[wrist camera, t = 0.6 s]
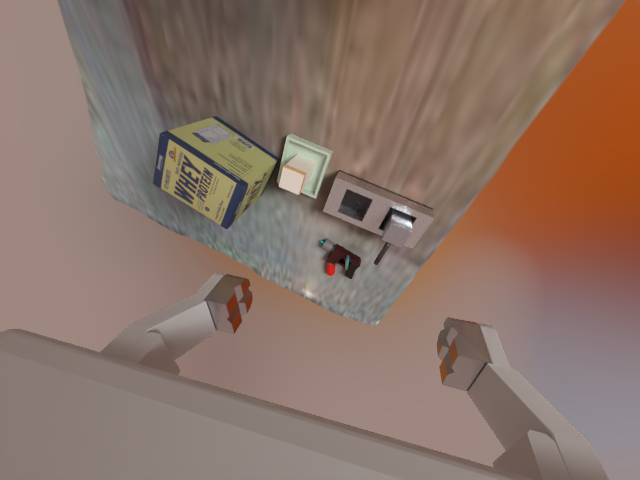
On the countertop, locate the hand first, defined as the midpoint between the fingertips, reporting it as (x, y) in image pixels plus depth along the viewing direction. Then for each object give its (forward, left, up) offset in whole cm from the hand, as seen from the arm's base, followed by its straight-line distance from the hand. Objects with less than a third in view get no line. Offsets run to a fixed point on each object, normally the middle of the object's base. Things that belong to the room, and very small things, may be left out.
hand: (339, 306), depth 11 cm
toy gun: (+33, +3, -43) cm, 54 cm away
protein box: (+17, -25, -43) cm, 53 cm away
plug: (+13, -11, -42) cm, 45 cm away
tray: (+13, -11, -42) cm, 46 cm away
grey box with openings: (+18, +6, -42) cm, 46 cm away
